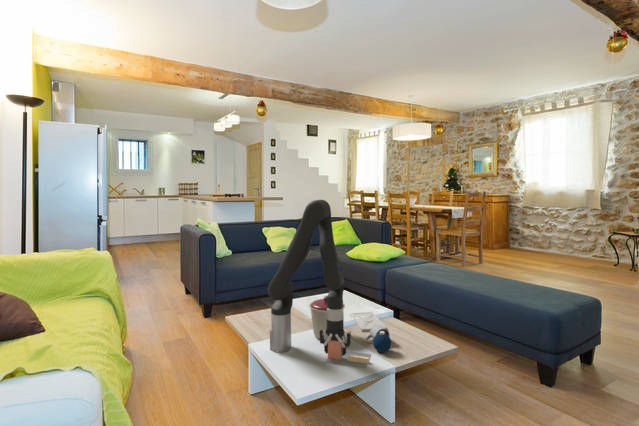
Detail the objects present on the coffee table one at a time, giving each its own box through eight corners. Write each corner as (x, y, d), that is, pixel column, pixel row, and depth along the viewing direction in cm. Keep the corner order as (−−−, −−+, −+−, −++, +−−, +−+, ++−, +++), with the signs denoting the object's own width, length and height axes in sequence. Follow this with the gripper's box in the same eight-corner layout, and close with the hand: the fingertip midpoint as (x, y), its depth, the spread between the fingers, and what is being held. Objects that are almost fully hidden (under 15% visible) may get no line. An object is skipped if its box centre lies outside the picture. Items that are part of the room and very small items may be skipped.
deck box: (327, 357, 162) (327, 340, 162) (329, 355, 164) (329, 338, 164) (341, 359, 161) (341, 341, 160) (342, 357, 163) (342, 339, 162)
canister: (326, 327, 199) (326, 289, 198) (352, 336, 186) (352, 296, 185) (302, 336, 187) (301, 296, 185) (327, 347, 174) (327, 304, 172)
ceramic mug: (382, 337, 186) (382, 322, 185) (390, 343, 178) (389, 328, 178) (363, 340, 183) (362, 324, 182) (370, 346, 175) (369, 330, 175)
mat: (324, 363, 158) (324, 358, 158) (333, 350, 171) (333, 345, 171) (366, 369, 152) (366, 364, 152) (371, 355, 166) (371, 349, 166)
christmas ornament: (394, 354, 167) (395, 332, 166) (378, 357, 164) (378, 335, 163) (385, 346, 175) (385, 326, 174) (369, 349, 172) (369, 328, 171)
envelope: (361, 333, 193) (386, 331, 195) (361, 328, 193) (386, 327, 195) (350, 316, 217) (372, 315, 219) (350, 312, 216) (372, 311, 219)
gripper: (352, 316, 163) (352, 352, 164) (321, 313, 167) (322, 348, 168) (349, 322, 156) (349, 359, 157) (316, 318, 160) (317, 355, 161)
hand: (335, 353), depth 162 cm, fingers open, 7 cm apart
